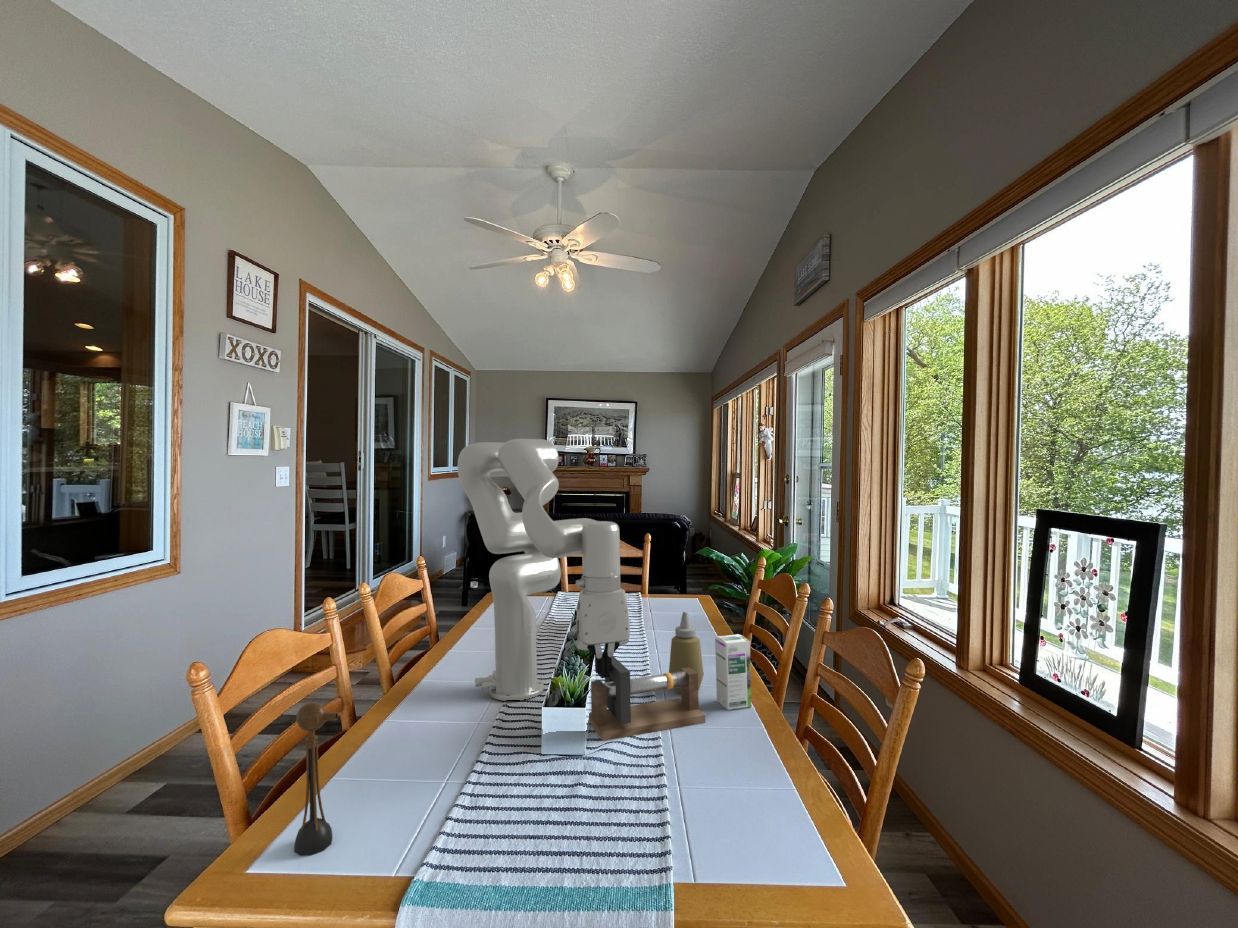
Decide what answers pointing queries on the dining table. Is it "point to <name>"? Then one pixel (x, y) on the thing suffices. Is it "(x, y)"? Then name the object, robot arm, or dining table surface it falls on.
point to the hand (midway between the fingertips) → (603, 675)
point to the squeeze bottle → (686, 650)
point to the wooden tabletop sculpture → (313, 783)
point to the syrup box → (733, 671)
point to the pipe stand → (647, 705)
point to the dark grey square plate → (620, 692)
